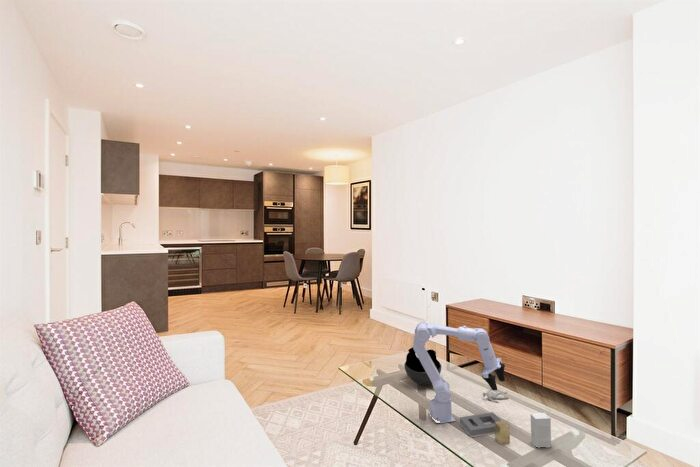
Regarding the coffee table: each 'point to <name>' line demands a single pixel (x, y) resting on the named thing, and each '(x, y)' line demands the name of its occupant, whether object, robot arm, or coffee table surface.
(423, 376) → the coal bowl
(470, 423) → the bit holder
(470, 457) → the coffee table surface
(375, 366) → the coffee table surface
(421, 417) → the coffee table surface
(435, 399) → the robot arm
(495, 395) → the soldier figure
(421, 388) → the coffee table surface
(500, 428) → the square bit
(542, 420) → the skincare box
